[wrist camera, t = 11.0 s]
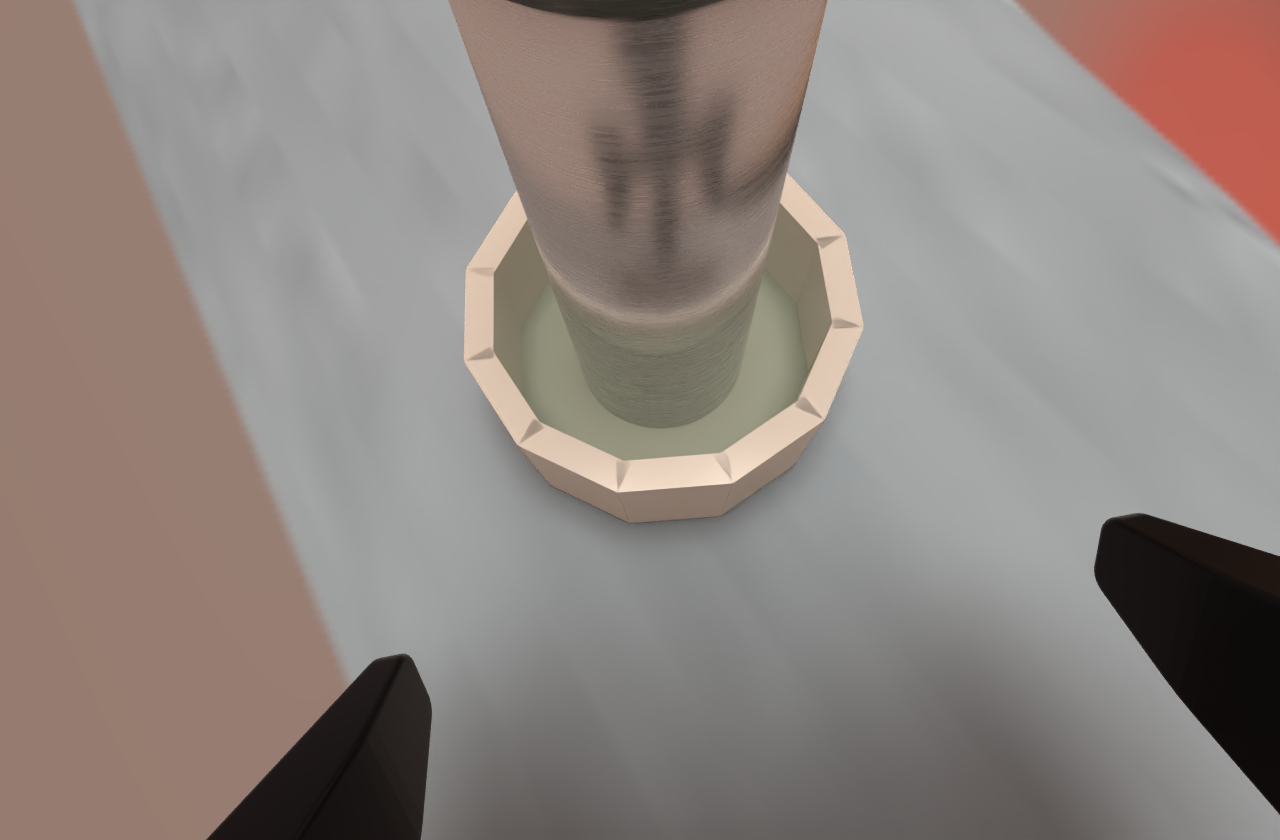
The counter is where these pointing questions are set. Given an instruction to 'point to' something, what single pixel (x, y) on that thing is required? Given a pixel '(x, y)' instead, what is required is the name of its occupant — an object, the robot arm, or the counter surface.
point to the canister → (648, 174)
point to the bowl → (681, 456)
